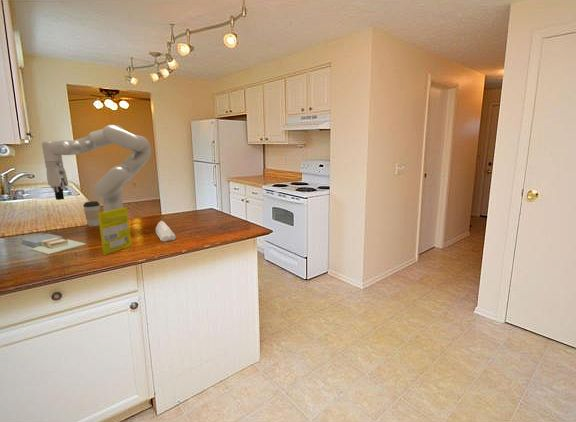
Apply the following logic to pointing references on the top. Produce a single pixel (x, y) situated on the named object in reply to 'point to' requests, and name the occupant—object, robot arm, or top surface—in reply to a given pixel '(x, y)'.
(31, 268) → the top surface
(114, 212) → the food package
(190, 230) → the top surface
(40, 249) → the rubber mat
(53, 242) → the birch tile
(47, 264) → the top surface
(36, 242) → the block
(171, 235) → the crystal
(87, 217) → the coffee cup
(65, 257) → the top surface
